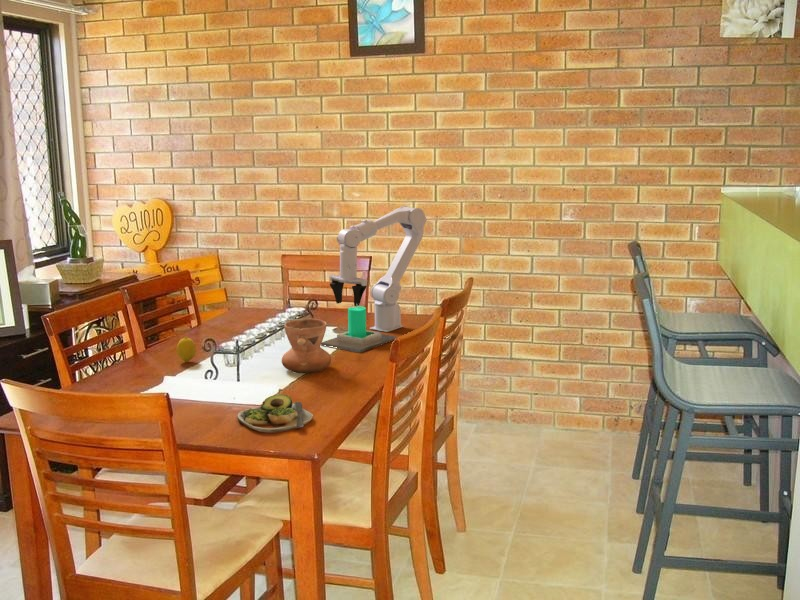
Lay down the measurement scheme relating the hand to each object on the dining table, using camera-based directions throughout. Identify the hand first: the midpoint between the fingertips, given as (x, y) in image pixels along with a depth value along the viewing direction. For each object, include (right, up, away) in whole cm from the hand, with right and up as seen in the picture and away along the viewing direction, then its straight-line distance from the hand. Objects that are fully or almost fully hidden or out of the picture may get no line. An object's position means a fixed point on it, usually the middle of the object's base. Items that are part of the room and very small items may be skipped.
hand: (347, 304), depth 290 cm
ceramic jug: (-10, -19, -39) cm, 44 cm away
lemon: (-47, -18, -31) cm, 59 cm away
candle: (+4, -12, -8) cm, 15 cm away
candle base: (+4, -13, -9) cm, 16 cm away
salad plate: (-13, -28, -80) cm, 86 cm away
